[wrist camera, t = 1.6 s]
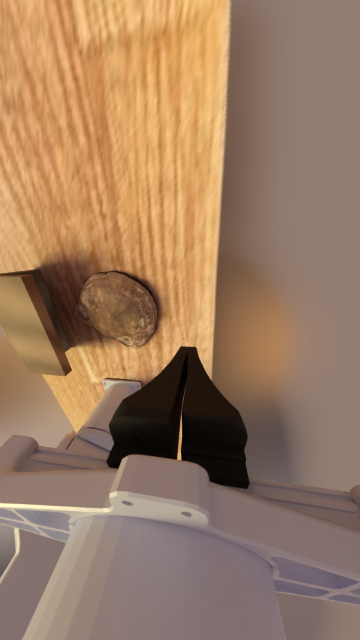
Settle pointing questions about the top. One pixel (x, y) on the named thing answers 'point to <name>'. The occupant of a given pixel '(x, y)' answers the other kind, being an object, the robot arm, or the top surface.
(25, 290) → the walnut shelf
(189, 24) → the top surface
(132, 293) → the shell
